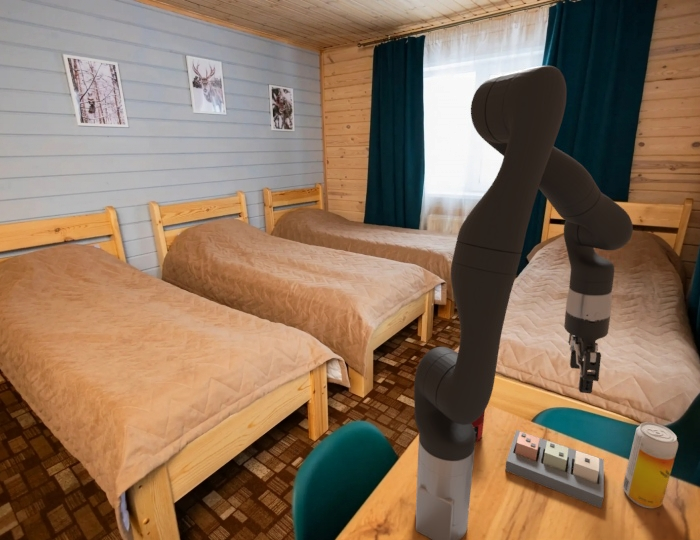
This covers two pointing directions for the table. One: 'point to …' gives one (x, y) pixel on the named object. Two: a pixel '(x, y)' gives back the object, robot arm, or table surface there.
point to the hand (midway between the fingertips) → (580, 379)
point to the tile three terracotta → (527, 446)
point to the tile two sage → (555, 456)
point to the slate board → (556, 474)
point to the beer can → (650, 464)
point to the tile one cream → (586, 466)
